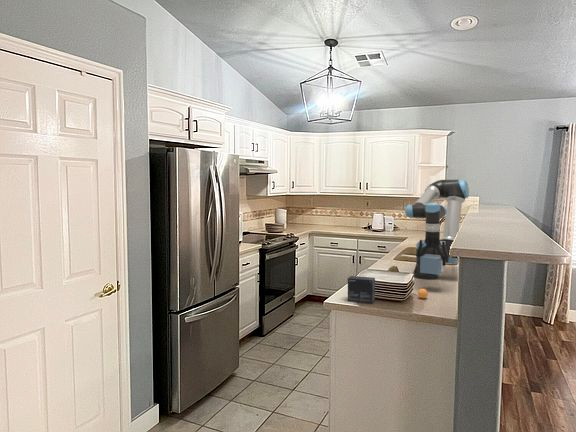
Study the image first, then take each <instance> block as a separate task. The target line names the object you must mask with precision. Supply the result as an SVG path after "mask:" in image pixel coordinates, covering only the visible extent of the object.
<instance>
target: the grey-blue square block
mask: <svg viewBox="0 0 576 432" xmlns="http://www.w3.org/2000/svg"><path fill="white" fill-rule="evenodd" d="M441 260H442V258H441V256H440V255H432V254H425V255H423V256H421V257H420V273H428V274H437V275H438V276H439V275H440V274H442V273H443V272H441Z"/></svg>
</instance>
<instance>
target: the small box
mask: <svg viewBox="0 0 576 432" xmlns="http://www.w3.org/2000/svg"><path fill="white" fill-rule="evenodd" d="M375 300H376V278H375V277H372V276H371V277H370V276H368V277H367V276H357V275H350V276H349V277H347V302H353V303H354V302H355V303H363V304H364V303H365V304H373V303H374V302H375Z"/></svg>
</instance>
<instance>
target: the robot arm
mask: <svg viewBox="0 0 576 432" xmlns="http://www.w3.org/2000/svg"><path fill="white" fill-rule="evenodd" d="M469 193H470V188H469V184H468V182H467V180H466V179H460V178H459V179H439V180H436V181H434V182H432V183H430V184H428V185H427V186H426V188H425V189H424V192H423V193H422V194H421V195H420V196H419V198H418V199H417V200H416V201H415V202H414V203H413V204H408V205H406V206H405V211H404V212H405V216H406V217H408V218H410V219H411V218H412V219H413V218H415V219H417V218H418V219H425V232H424V233H425V238H424V239H420V240H419V241H418V242H417V243H416V249H415V250H416V251H415V259H416V260H415V267H414V269H413V272H412V275H413V274H414V276H413V278H416V279H422V280H434V279H435V280H436V279H438V278H439V275H437V274H428V273H420V257H421V256H423V255H425V254H432V255H440V256H441V258H442V260H441V272H442V273H444V272H445V266H446V264H457V263H458V262H459V261H458V259H457V258H450V255H449V250H450V246H451V244H452V242H453V240H454V238H455V236H456V234H457V232H458V233H459V231H460V230H459V229H460V222H461V214H462V207H463V206H462V205H463V204H464V203H465V200H466V199H467V198H469ZM438 198H439V199H440V198H441V199H442V198H444V199H445V201H446V202H447V203H446V204H447V205H446V206H445V205H442V204H440V203H438V202H434V201H435V200H437V199H438ZM444 217H445V220H444V226H443V234H442V238H441V239H440V237H441V235H440V234H441V233H440V230H441V227H440V226H441V219H442V218H444ZM458 230H459V231H458Z"/></svg>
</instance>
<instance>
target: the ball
mask: <svg viewBox="0 0 576 432" xmlns="http://www.w3.org/2000/svg"><path fill="white" fill-rule="evenodd" d="M417 295H418V297H419V298H420V299H426V298H427V297H428V296H429V293H428V290H427V289H426V288H420V289H419V290H418V291H417Z"/></svg>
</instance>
